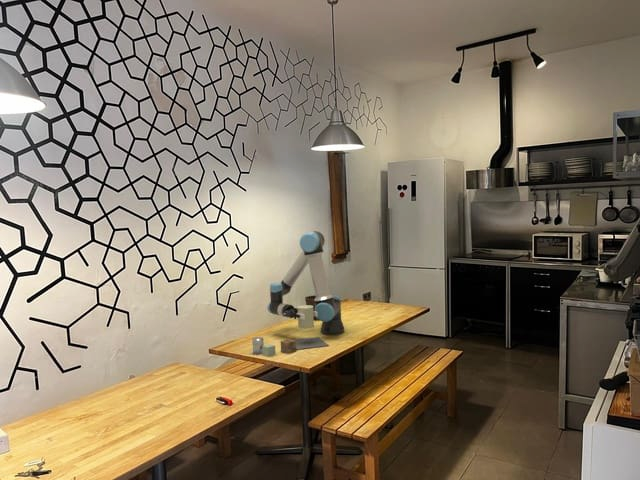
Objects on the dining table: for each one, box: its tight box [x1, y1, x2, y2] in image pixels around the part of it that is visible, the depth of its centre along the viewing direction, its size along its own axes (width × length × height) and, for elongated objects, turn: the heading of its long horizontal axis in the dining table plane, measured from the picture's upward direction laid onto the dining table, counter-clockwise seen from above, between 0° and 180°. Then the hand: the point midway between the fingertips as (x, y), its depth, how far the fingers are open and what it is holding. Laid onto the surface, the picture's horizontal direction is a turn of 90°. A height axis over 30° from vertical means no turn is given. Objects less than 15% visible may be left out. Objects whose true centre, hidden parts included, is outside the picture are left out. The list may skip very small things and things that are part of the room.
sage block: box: [261, 343, 277, 357], centre depth 254 cm, size 5×5×5 cm
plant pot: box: [304, 294, 320, 321], centre depth 336 cm, size 15×15×16 cm
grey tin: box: [251, 336, 265, 356], centre depth 258 cm, size 6×6×8 cm
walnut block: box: [280, 338, 297, 355], centre depth 258 cm, size 6×6×6 cm
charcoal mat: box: [294, 336, 330, 351], centre depth 272 cm, size 20×20×1 cm
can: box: [296, 304, 315, 329], centre depth 272 cm, size 9×9×12 cm
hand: (310, 315), depth 268 cm, fingers closed on can, 9 cm apart
